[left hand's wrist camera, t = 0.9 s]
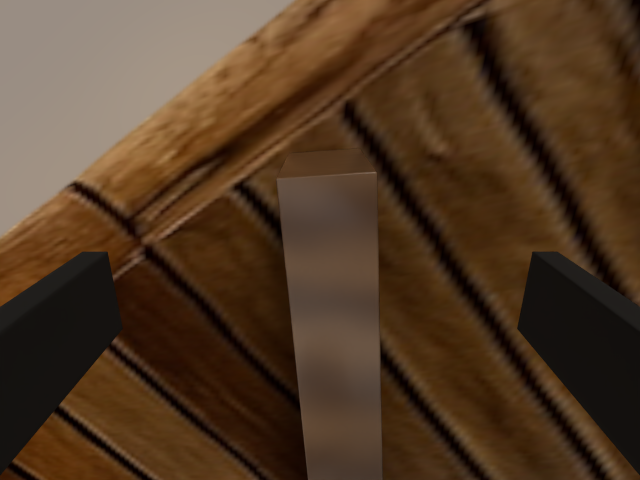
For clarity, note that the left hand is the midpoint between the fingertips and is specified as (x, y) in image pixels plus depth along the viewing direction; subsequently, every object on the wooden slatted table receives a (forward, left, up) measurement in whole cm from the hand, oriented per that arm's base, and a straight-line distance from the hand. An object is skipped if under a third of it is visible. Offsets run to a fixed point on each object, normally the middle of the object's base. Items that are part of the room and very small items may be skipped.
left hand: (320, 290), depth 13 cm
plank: (-17, +12, -16) cm, 26 cm away
